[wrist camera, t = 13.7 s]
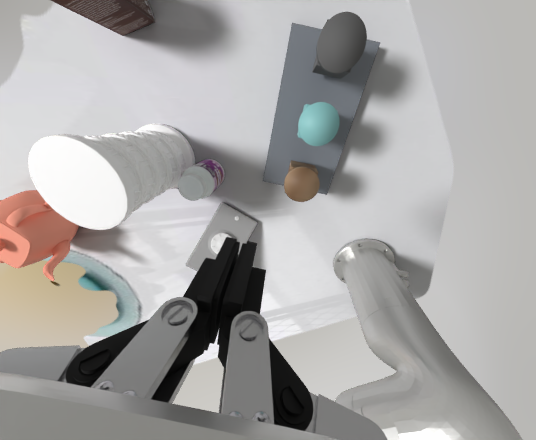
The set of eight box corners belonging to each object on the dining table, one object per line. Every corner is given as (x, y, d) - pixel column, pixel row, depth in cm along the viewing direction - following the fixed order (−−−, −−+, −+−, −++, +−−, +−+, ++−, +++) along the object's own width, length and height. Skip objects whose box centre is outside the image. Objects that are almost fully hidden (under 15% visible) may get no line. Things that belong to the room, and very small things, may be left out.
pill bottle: (230, 180, 40) (214, 198, 31) (207, 189, 41) (186, 210, 32) (216, 153, 37) (195, 165, 29) (192, 164, 39) (165, 179, 30)
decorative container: (207, 166, 39) (151, 203, 23) (167, 197, 42) (94, 247, 27) (163, 108, 35) (57, 104, 19) (122, 148, 38) (6, 172, 23)
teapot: (102, 246, 50) (49, 284, 39) (39, 240, 51) (-31, 275, 40) (80, 188, 43) (8, 215, 32) (7, 182, 44) (-88, 205, 33)
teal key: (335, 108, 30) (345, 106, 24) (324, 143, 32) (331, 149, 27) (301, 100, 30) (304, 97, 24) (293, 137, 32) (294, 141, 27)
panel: (375, 46, 29) (397, 29, 23) (325, 191, 39) (331, 205, 33) (292, 27, 28) (292, 6, 23) (263, 178, 39) (259, 189, 33)
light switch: (258, 222, 41) (222, 286, 41) (255, 221, 47) (224, 276, 47) (221, 201, 40) (183, 266, 39) (222, 202, 46) (189, 259, 45)
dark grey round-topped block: (357, 37, 26) (374, 17, 21) (342, 83, 28) (355, 76, 23) (318, 28, 26) (326, 6, 21) (307, 75, 28) (311, 67, 23)
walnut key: (318, 162, 33) (324, 172, 28) (309, 191, 36) (313, 204, 30) (288, 156, 33) (288, 164, 28) (281, 185, 36) (280, 197, 30)
